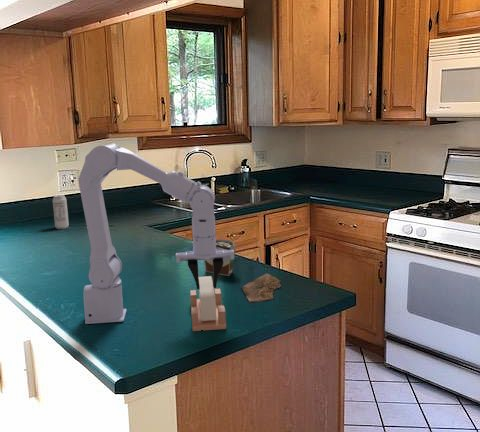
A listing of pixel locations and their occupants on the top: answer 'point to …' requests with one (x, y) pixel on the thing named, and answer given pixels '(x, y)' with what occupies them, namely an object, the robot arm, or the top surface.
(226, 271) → the food container
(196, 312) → the rack
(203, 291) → the strip
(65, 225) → the energy drink can
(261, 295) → the wooden fragment
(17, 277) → the top surface
